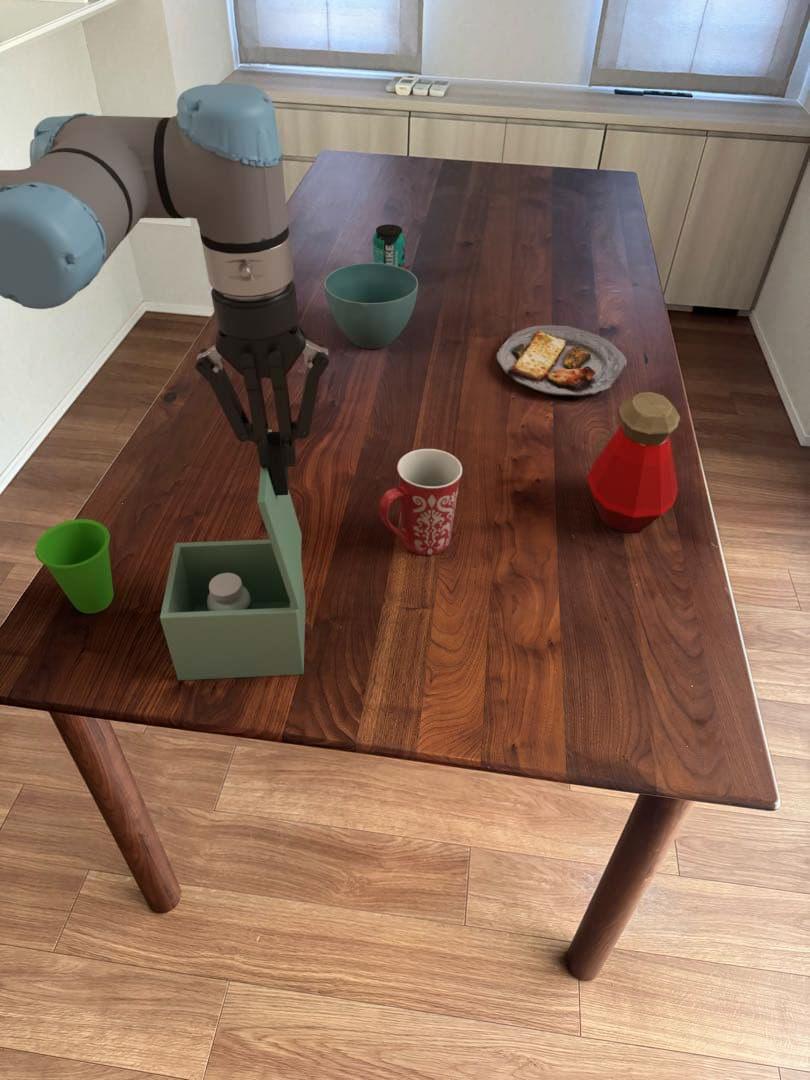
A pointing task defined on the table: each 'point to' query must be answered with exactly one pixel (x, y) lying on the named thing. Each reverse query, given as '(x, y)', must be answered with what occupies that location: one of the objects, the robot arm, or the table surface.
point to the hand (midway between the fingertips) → (281, 487)
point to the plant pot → (371, 301)
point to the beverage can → (389, 245)
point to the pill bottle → (228, 593)
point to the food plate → (561, 360)
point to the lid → (282, 533)
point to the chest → (231, 614)
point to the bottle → (637, 465)
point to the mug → (424, 500)
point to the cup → (79, 562)
